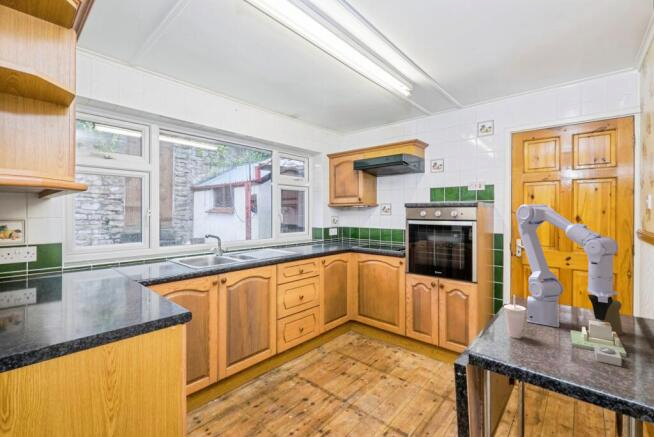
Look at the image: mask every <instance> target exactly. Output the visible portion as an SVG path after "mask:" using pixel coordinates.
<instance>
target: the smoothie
mask: <svg viewBox="0 0 654 437" xmlns="http://www.w3.org/2000/svg"><path fill="white" fill-rule="evenodd" d="M512 302H513V304H512V303H510V304H508V303H507V304H505V305H504V306H503V310H504V314H505V321H506V328H507V335H508V337H510V338H513V339H521V338H522V334H523V329H524V328H523V327H524V320H525V316H526V314H527V308H526V307H524V306H522V305H519V304H516V294H513V301H512Z"/></svg>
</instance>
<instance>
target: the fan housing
mask: <svg viewBox="0 0 654 437" xmlns="http://www.w3.org/2000/svg"><path fill="white" fill-rule="evenodd" d="M593 353H594V357H595V361H596V362H598V363H599V362H600V363H604V364H609V365H613V366H619V367H622V356H620V354H619V352H618V350H617V349H612V348H607V347H601V346H596V345H594V351H593Z"/></svg>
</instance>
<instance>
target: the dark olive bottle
mask: <svg viewBox="0 0 654 437" xmlns="http://www.w3.org/2000/svg"><path fill="white" fill-rule="evenodd" d="M612 300H613V302H612V304H611V305H610V306H609V308H608V311H607V314H606V318H605V320H599V322H608V323H610V325H611V327H612V332H616V334H617V336H621V335H623V334H624V332H623V327H622V320H621V313H620V310H621V309H622V303H621V302H620V301H619V300H617V299H614V298H612Z"/></svg>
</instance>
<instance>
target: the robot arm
mask: <svg viewBox="0 0 654 437" xmlns="http://www.w3.org/2000/svg"><path fill="white" fill-rule="evenodd" d="M515 216H516V220H517V222H518V223H517V227H518V228H517V230H518V234H519V236H520V239H521V242H522V246H523V249H524V252H525V254H526V258H527V261H528V264H529V267H530V271H531V275H530V276H529V277H528V280H527V281H528V284H529V285H528V291H529V293H530V296H529V295H528V296H527V300H526V302H527V305H526V307H527V308H526V318H527V319H526V322H527V323H532V324H537V325H541V326H542V325H544V326H548V327H554V328H560V320H559V317H558V316H559V313H558V312H559V299H560V296H561V295H562V294H563V293H564V286H563V285H562V284H563V283H561V282H560V281H559V279H558V277H557V275H556V274H555V273H554V272H552V271H551V270H550V268H549V266H548V263H547V259H546V257H545V254H544V251H543V250H544V249H543V247H542V245H541V241H540V239H539V238H540V237H538V234H537V233H538V232H537V230H538V229H539V227H540V226H541V225H542V224H543V223H545V222H548V223H549V224H551V225H553V226H554V227H556V228H559V229H560V230H562V231H563V232H565V236H566V237H567V238H568V239H569V240H571V241H572V242H574V243H575V244H577V245H579V246H581V247H582V248H583V250H584V252H585V254H586V255H587V260H588V266H587V268H588V269H587V270H588V273H587V274H588V276H587V277H588V280H587V281H588V282H587V283H588V284H587V293H589V294H588V295H587V296H588V299H589V301H590V302H591V306H592V310H593V315H594V318H595V320H596V321H600V320H605V318H606V314H607V311H608V308H609V306H610V305H611V304H612V302H613V300H612V299H613V297H612V296H614V295H615V296H617V295H619V292H618V291H617V290H613V289H614V287H613V286H614V282H613V281H614V256H615V254H617V252H618V251H619V245H618V243H617V241H616V240H615V239H613V237H610V236H602V234H601V233H600V232H595V231H594V230H592V229H590V228H588V225H587V224H585V223H572V222H571V221H570V220H568V219H567V218H565V217H564V216H562V215H561V214H559V213H558V212H557V211H555V210H554V209H553V207H552V206H548V205H547V204H545V203H540V204H521V205H520V206H519V207H518V209H517V210H516V212H515Z"/></svg>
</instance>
